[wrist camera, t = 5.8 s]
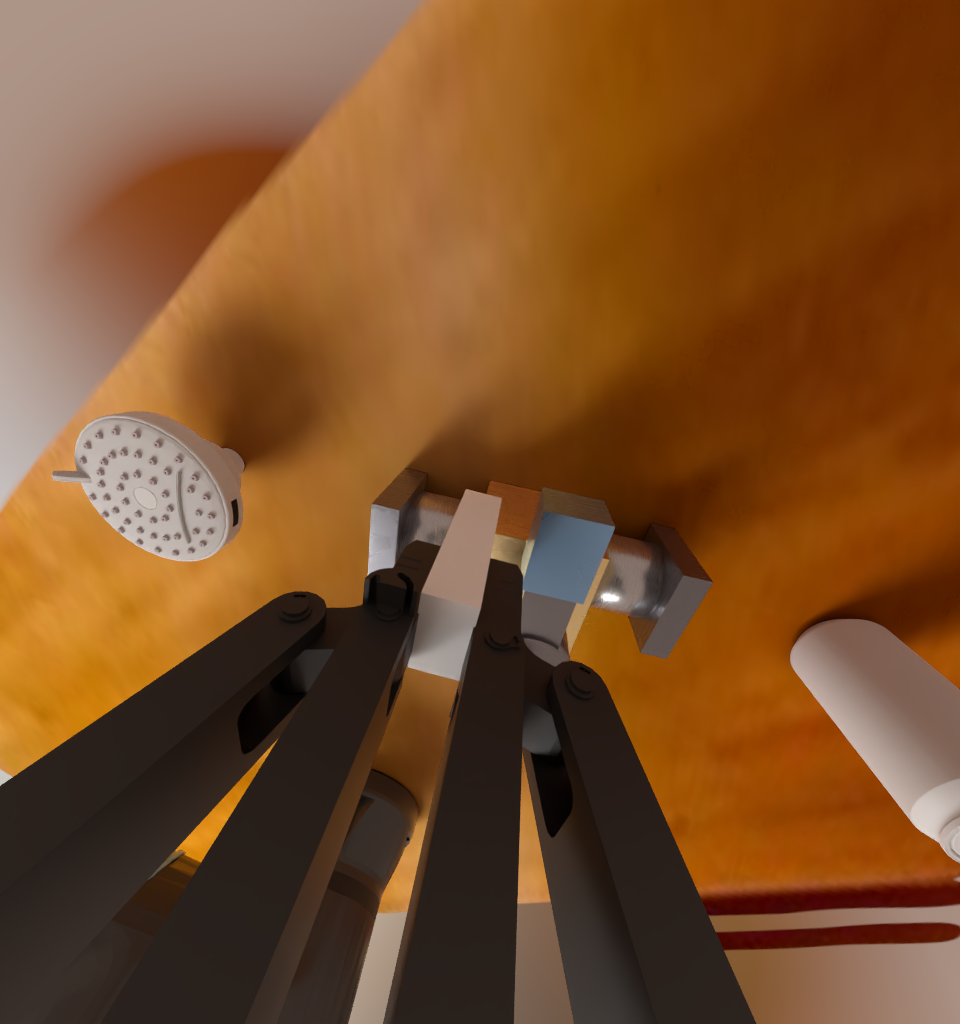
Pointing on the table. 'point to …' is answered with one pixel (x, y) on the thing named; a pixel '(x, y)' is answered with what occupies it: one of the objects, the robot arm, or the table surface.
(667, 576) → the pipe out
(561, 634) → the lever
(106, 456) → the showerhead
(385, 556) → the pipe in
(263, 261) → the table surface
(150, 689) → the robot arm
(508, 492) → the valve
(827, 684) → the beverage can
